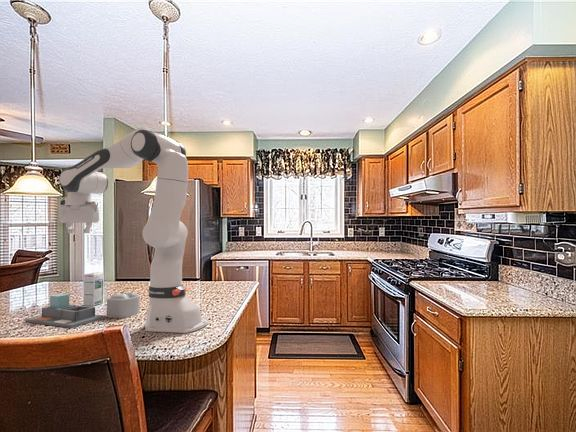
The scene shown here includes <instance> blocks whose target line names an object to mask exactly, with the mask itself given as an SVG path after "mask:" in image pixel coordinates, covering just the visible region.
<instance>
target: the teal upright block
mask: <svg viewBox="0 0 576 432" xmlns="http://www.w3.org/2000/svg"><path fill="white" fill-rule="evenodd" d="M69 305H70V294H69V293H58V294H53V295H50V296H49V306H50V308H54V309H59V308H64V307H68V306H69Z"/></svg>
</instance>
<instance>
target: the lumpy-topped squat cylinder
mask: <svg viewBox="0 0 576 432" xmlns="http://www.w3.org/2000/svg"><path fill="white" fill-rule="evenodd" d="M140 299H141V297H140V294H139V293H137V292H136V291H125V292H124V293H120V292H118V291H117V292H115V293H114V294H113V295H111V296H110V297H107V298H106V317H107V318H115V319H125V318H130V317H132V316H135V315H139V313H141V312H140V310H141V309H140V308H141V307H140V305H141V303H140V301H141V300H140Z"/></svg>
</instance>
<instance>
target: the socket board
mask: <svg viewBox="0 0 576 432" xmlns="http://www.w3.org/2000/svg"><path fill="white" fill-rule="evenodd" d="M104 319H106V315H101V314H96V306H85V305H78V304H69V306H68V307H64V308H59V309H54V308H50V305H49V306H44V307H42V308H41V315H37V316H33V317H28V318H25V319H24V321H25V323H33V324H40V325H47V326H55V327H62V328H68V329H69V328H70V329H74V328H77V327H80V326H83V325H86V324H90V323H95V322H96V321H97V322H98V321H101V320H104Z"/></svg>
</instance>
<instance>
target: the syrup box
mask: <svg viewBox="0 0 576 432" xmlns="http://www.w3.org/2000/svg"><path fill="white" fill-rule="evenodd" d="M101 304H104V273H103V272H99V271H98V272H90V273H84V274H83V306H88V307H96V306H98V305H101Z"/></svg>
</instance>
